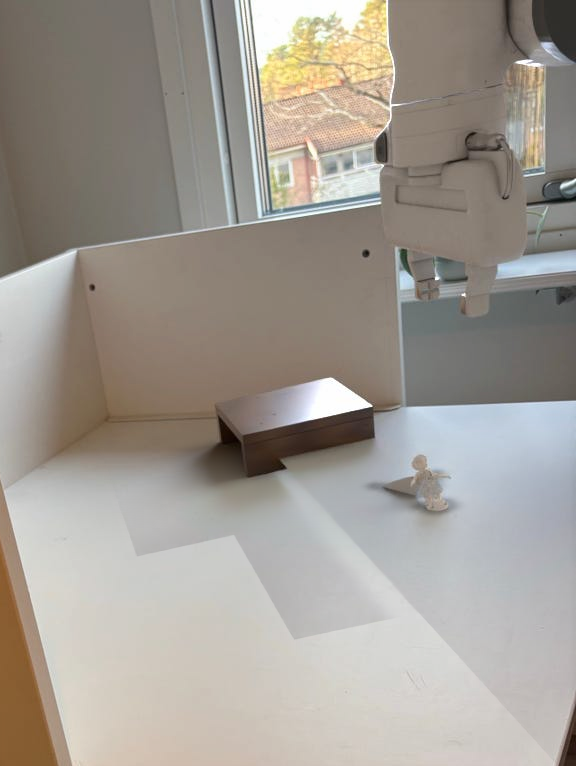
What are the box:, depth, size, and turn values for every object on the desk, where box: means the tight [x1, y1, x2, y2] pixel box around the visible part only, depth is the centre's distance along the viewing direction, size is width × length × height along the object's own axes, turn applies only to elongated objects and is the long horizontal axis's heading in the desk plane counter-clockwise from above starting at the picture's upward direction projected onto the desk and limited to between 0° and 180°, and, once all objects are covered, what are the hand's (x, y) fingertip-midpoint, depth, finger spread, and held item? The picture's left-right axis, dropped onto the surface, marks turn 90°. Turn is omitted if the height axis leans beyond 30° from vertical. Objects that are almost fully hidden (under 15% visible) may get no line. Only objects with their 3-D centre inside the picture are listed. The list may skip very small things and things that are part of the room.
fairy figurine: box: [382, 453, 452, 512], centre depth 92 cm, size 6×7×7 cm
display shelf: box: [214, 376, 376, 478], centre depth 115 cm, size 15×15×5 cm
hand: (449, 307), depth 85 cm, fingers open, 8 cm apart
